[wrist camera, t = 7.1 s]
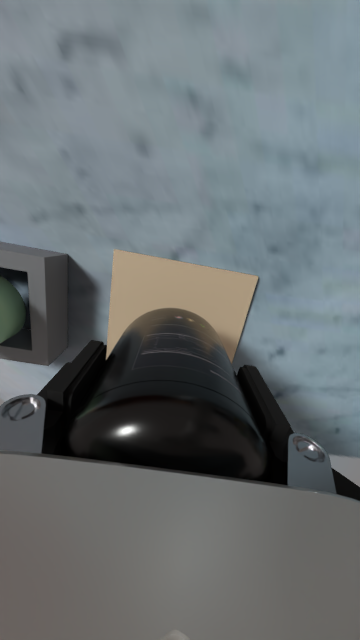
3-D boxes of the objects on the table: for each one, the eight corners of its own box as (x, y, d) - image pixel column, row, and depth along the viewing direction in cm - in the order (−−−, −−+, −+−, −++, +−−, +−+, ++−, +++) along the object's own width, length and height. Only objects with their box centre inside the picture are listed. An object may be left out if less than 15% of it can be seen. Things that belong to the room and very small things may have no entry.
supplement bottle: (201, 406, 16) (249, 799, 5) (109, 380, 15) (-89, 771, 4) (240, 323, 14) (503, 695, 3) (135, 288, 13) (-152, 590, 2)
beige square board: (257, 275, 17) (258, 276, 17) (224, 382, 20) (225, 384, 20) (115, 249, 16) (113, 249, 16) (106, 363, 20) (105, 365, 20)
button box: (67, 254, 17) (44, 257, 14) (67, 347, 19) (48, 365, 17) (-43, 233, 16) (-90, 233, 13) (-27, 332, 19) (-63, 348, 16)
